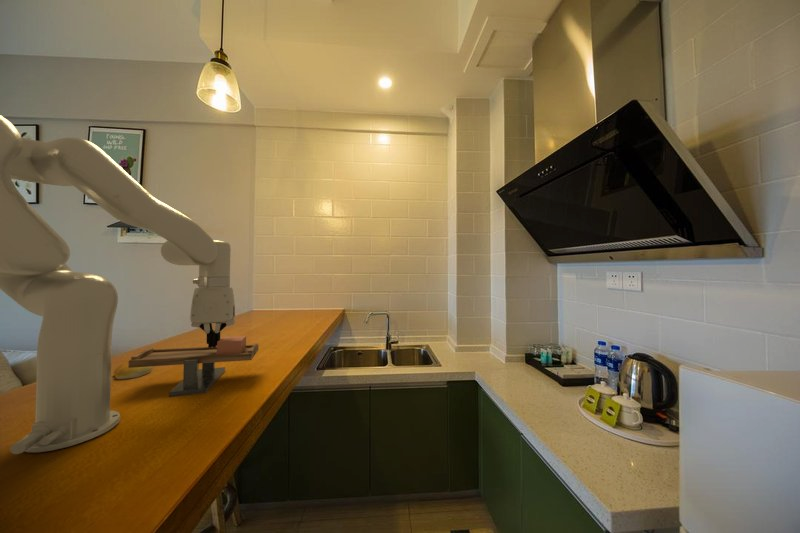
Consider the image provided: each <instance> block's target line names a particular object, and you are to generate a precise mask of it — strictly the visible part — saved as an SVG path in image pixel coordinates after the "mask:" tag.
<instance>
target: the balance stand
mask: <svg viewBox="0 0 800 533" xmlns="http://www.w3.org/2000/svg"><path fill="white" fill-rule="evenodd" d="M199 364H200V363H199V359H192V360H185V361H184V364H183V372H182V373H183V375H182V376H183V378H182V379H183V380H181V382H178V384H176V385H175V387H173V388H172V389H171V390H170V391H169V392H168V397H170V398H171V397H179V396H180V397H181V396H189V395H190V396H191V395H198V394H206V393H207V392H208V391H209V390H210V389H211V388H212V386H213V385H214V384H215V383H216V382H217V381H218V380H219V379H220V378H221V377H222V375H223V374H224V373H225V371H226V367H225V366H224V367H216V365H215V364H216V362H214V363H201V364H202V365H201V368H200V369H199Z"/></svg>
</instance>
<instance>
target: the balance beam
mask: <svg viewBox="0 0 800 533" xmlns="http://www.w3.org/2000/svg"><path fill="white" fill-rule="evenodd" d="M258 351H259V343H257V342H256V343H254V344H246V349H245V350H244V351H243V352H242V353H239V354H221V355H217V346H216V347H210V348H208V346H196V347H177V348H176V347H175V348H156V349H155V348H154V347H152V348H150V347H149V348H147V349H145V350H143V351H141V352H139V353H137V354H134V355H133V356H131V359H128V361H129V366H128V368H133V367H149V366H152V367H162V366H177V365H178V366H180V365H184V361H185V360H192V359H199V364H202V363H214V362H215V363H225V362H227V363H229V362H242V361H252V360H253V359H254V357H255V356H256V354H257V353H258Z"/></svg>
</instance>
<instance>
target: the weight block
mask: <svg viewBox="0 0 800 533" xmlns="http://www.w3.org/2000/svg"><path fill="white" fill-rule="evenodd" d="M246 345H247V335H234V336H233V335H231V336H228V335H227V336H226V335H225V336H223V337H220V340H219V341H217V355H221V354H239V353H242V352H243V351H244V350H245V349H246Z"/></svg>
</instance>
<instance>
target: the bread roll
mask: <svg viewBox="0 0 800 533" xmlns="http://www.w3.org/2000/svg"><path fill="white" fill-rule="evenodd" d="M128 366H129V360H128V361H125V362H123V363H122V364H120V365H119V366H117V367H115V369H114V371H113V375H114V377H115V379H117V380H128V379H135V378H136V379H137V378H140V377H142V376H144V375H145V376H146V375H147V374H149V373H151V372H152V370H153V366H149V367H133V368H128Z"/></svg>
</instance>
